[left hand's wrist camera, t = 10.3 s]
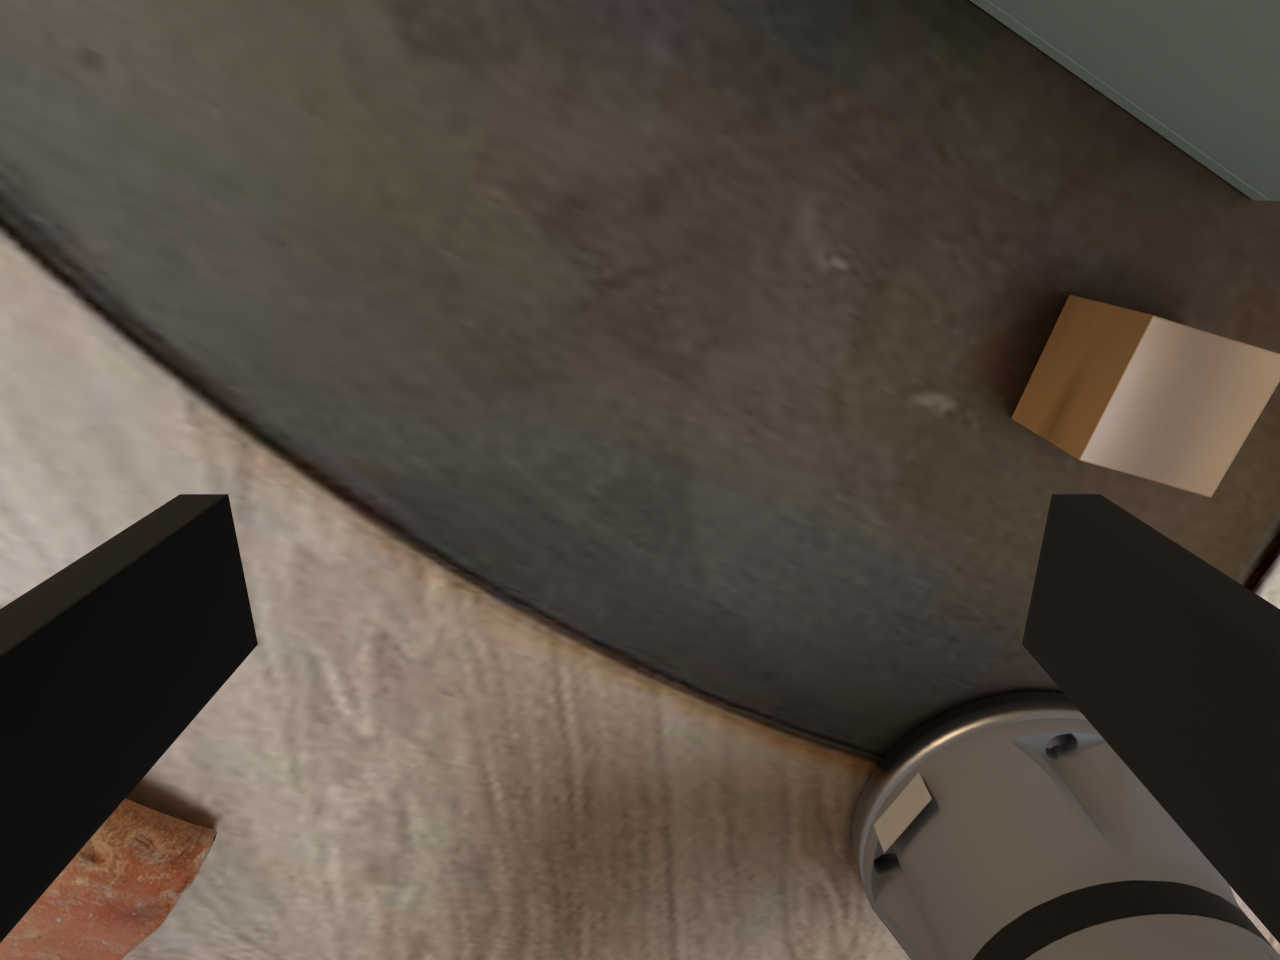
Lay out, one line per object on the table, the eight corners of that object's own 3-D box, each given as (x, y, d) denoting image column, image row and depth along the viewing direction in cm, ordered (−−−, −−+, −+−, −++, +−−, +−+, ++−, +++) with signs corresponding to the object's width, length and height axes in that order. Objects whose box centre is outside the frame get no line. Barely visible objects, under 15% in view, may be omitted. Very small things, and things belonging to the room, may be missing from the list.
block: (1188, 330, 29) (1294, 358, 24) (1124, 450, 31) (1211, 498, 26) (1068, 294, 29) (1153, 315, 24) (1010, 418, 30) (1078, 460, 26)
